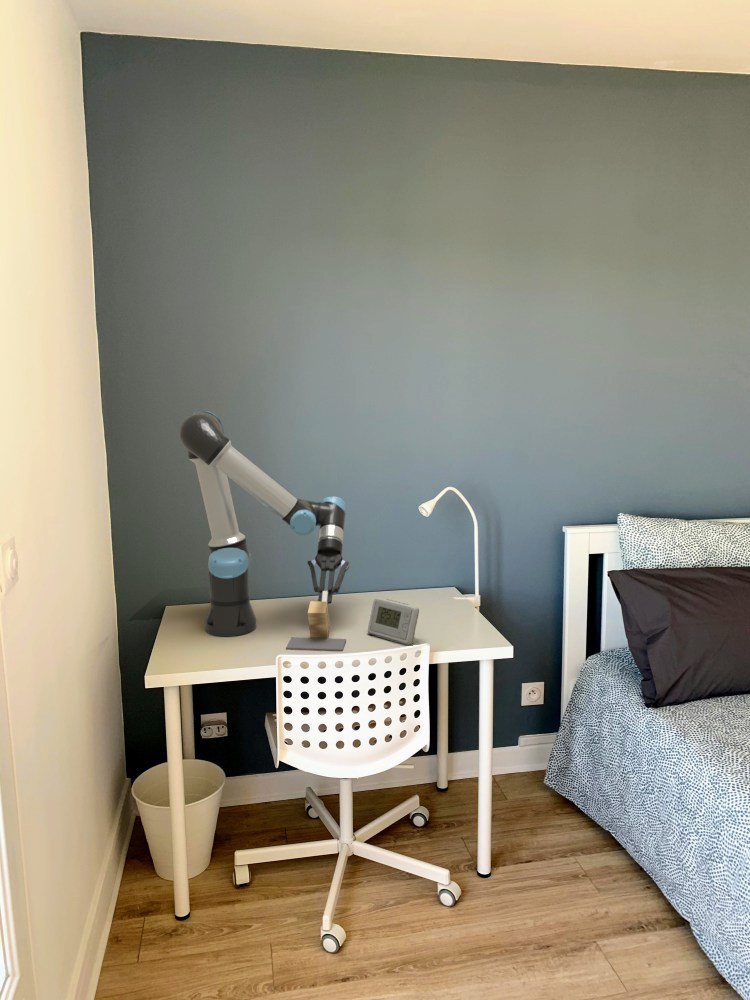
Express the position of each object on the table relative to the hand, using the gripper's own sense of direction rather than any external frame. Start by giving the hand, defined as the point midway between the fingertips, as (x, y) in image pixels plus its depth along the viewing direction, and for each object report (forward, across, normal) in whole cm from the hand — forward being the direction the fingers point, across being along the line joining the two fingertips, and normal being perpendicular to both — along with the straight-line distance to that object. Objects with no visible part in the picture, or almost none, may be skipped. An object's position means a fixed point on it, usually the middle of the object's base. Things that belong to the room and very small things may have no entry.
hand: (323, 612), depth 226 cm
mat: (+11, +1, +1) cm, 11 cm away
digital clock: (+6, -20, -4) cm, 22 cm away
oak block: (+5, +1, -3) cm, 6 cm away
